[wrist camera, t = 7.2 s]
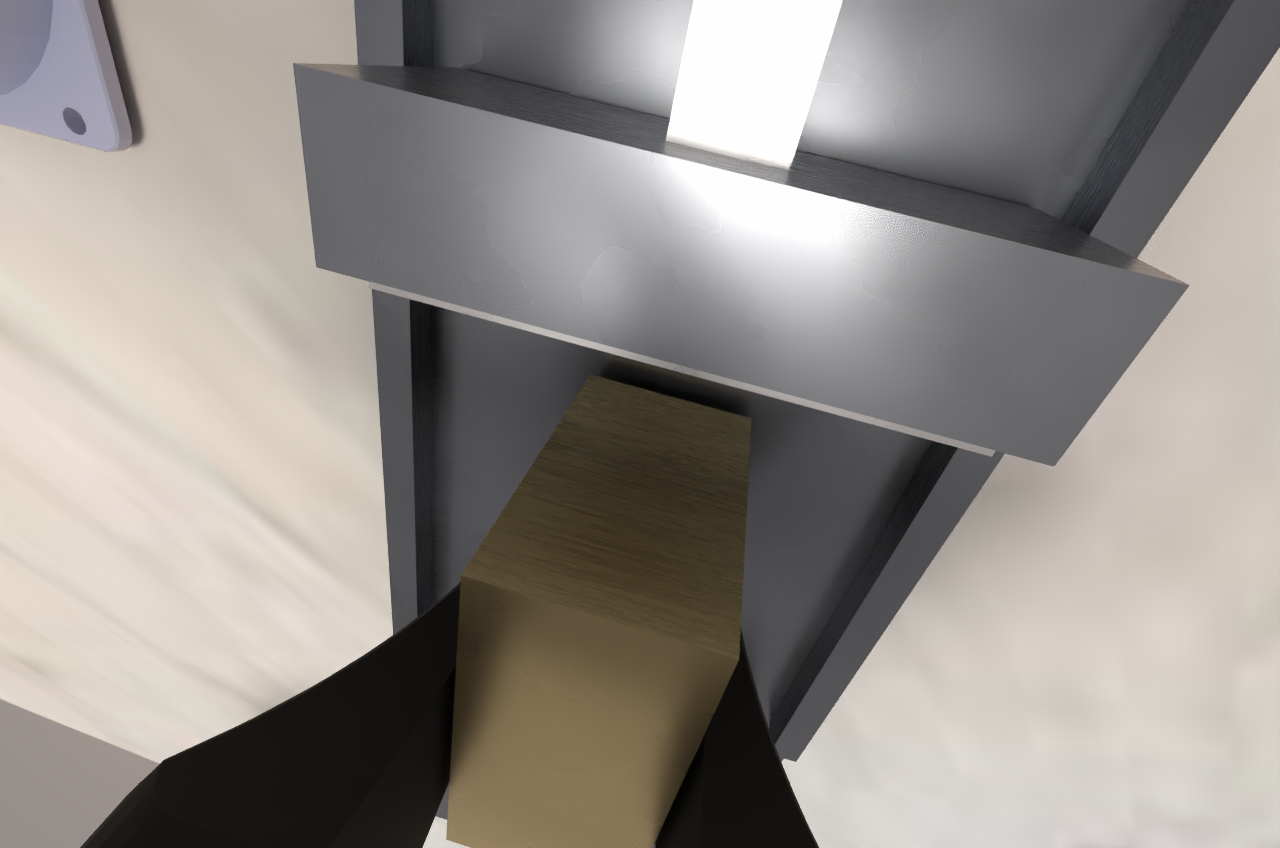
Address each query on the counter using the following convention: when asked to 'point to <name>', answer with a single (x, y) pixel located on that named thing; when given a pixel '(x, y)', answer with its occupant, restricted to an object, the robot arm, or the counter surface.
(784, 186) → the free jaw
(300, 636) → the counter surface
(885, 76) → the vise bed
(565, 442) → the brass block
